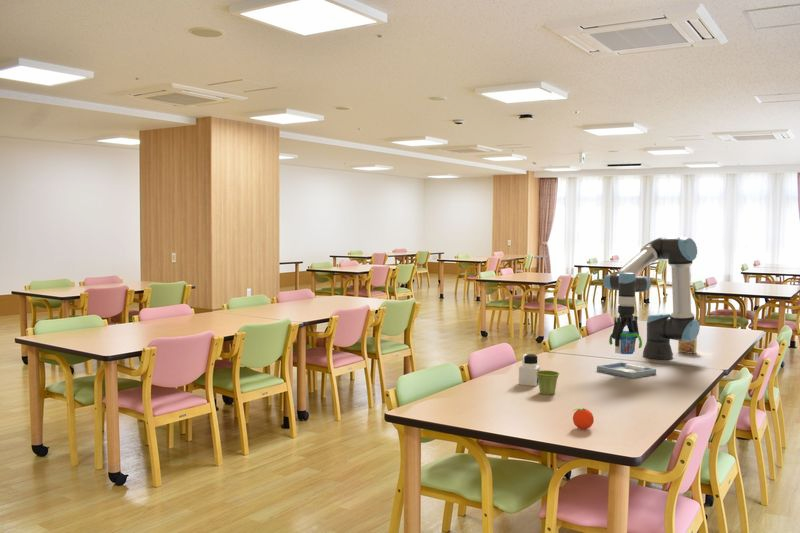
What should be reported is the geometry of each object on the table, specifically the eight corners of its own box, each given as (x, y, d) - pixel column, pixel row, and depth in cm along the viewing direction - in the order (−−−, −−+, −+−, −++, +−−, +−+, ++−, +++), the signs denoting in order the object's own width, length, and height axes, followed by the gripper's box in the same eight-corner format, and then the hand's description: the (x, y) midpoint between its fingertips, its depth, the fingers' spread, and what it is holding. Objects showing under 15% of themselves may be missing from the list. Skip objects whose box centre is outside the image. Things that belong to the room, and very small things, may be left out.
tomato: (568, 430, 231) (568, 409, 231) (570, 424, 238) (571, 404, 237) (592, 432, 228) (592, 411, 228) (594, 427, 235) (594, 407, 235)
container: (540, 382, 303) (540, 353, 302) (536, 386, 296) (536, 356, 295) (523, 381, 306) (523, 352, 306) (518, 384, 299) (518, 355, 299)
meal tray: (621, 367, 339) (621, 361, 339) (656, 374, 322) (656, 368, 322) (596, 370, 329) (596, 365, 329) (631, 378, 313) (631, 373, 312)
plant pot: (560, 391, 287) (560, 371, 286) (557, 396, 278) (558, 375, 277) (537, 389, 290) (538, 369, 289) (534, 394, 281) (534, 374, 280)
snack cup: (604, 352, 327) (604, 331, 327) (616, 350, 334) (617, 329, 334) (633, 357, 315) (634, 335, 315) (646, 354, 322) (646, 333, 321)
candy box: (677, 352, 382) (678, 324, 381) (680, 351, 385) (680, 324, 385) (694, 353, 377) (695, 326, 376) (696, 352, 380) (697, 325, 379)
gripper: (634, 303, 333) (633, 349, 334) (604, 305, 321) (603, 353, 322) (648, 304, 326) (646, 351, 327) (617, 307, 314) (615, 355, 315)
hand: (625, 352), depth 325 cm, fingers closed on snack cup, 9 cm apart
